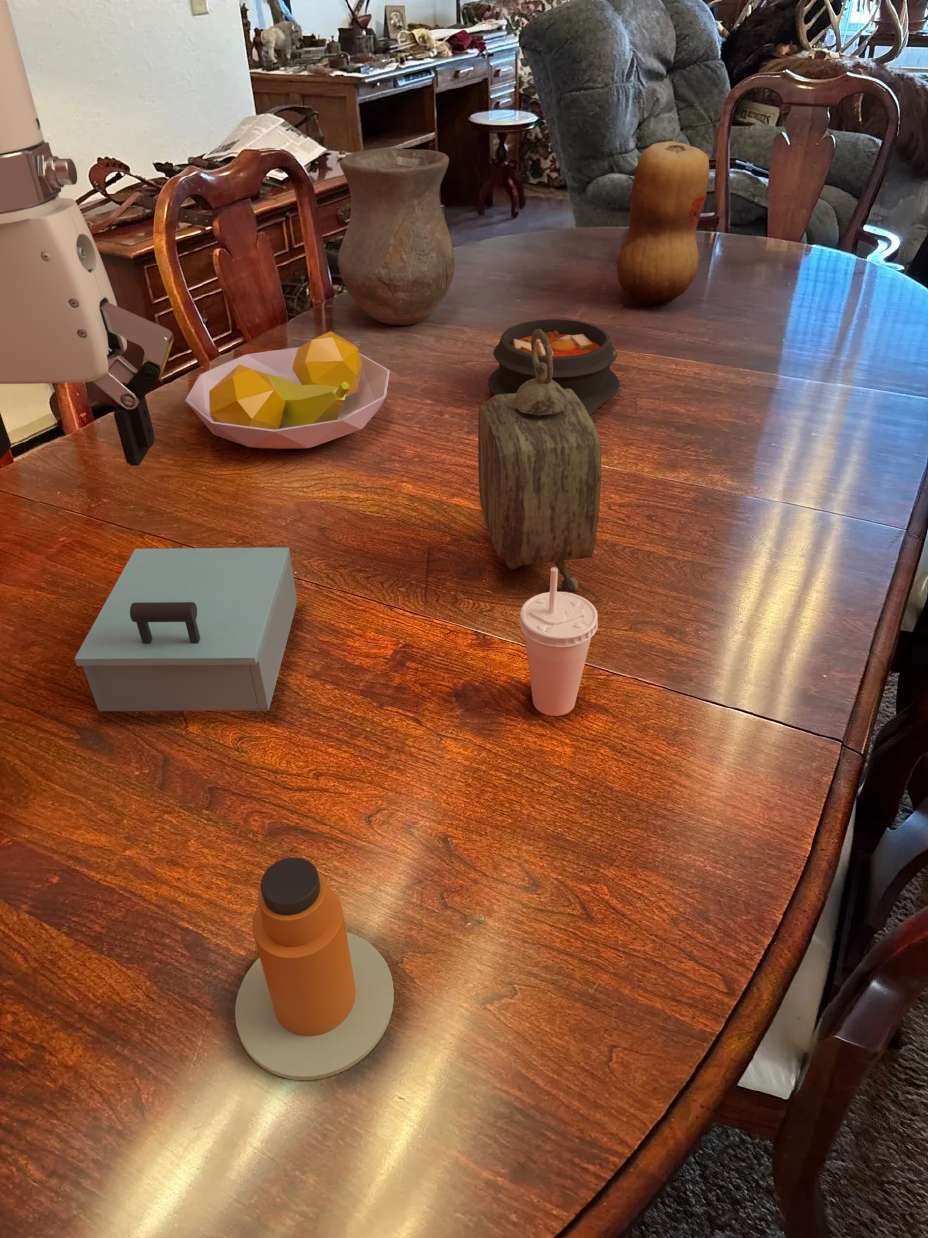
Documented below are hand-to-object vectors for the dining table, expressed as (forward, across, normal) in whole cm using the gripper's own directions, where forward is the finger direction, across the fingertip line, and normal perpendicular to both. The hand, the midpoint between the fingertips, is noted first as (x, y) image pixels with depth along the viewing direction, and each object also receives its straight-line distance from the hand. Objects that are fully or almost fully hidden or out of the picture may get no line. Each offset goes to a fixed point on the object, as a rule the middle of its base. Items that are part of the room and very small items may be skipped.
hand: (68, 456), depth 62 cm
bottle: (+26, -17, +24) cm, 39 cm away
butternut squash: (+26, -58, -106) cm, 124 cm away
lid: (+20, -2, -10) cm, 22 cm away
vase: (+26, -14, -100) cm, 104 cm away
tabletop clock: (+26, -33, -25) cm, 49 cm away
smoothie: (+26, -34, -4) cm, 43 cm away
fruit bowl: (+26, -3, -58) cm, 64 cm away
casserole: (+26, -38, -68) cm, 82 cm away
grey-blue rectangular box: (+26, -2, -10) cm, 28 cm away
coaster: (+26, -17, +24) cm, 39 cm away
